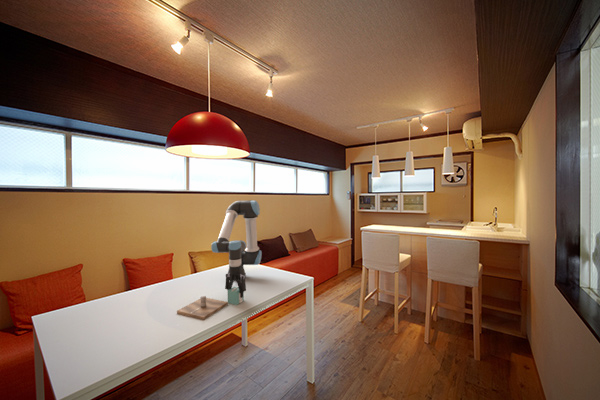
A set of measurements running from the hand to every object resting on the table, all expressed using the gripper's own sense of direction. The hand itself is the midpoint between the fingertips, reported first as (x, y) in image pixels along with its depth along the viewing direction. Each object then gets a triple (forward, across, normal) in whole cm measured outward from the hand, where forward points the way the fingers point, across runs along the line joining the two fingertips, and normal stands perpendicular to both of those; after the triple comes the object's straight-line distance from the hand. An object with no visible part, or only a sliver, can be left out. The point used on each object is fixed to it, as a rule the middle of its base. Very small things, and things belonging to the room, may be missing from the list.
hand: (235, 301), depth 151 cm
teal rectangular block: (0, 0, 0) cm, 0 cm away
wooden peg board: (0, -12, -15) cm, 19 cm away
